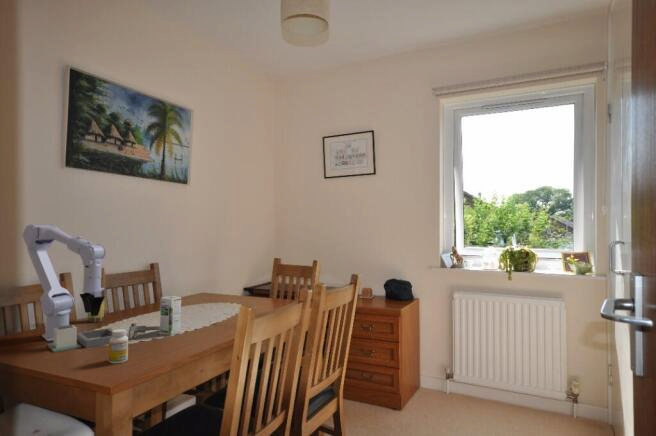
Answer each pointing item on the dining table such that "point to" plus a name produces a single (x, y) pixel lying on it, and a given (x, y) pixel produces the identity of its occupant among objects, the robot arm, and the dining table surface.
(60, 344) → the block
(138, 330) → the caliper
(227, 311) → the dining table surface
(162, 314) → the syrup box
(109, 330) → the grey square frame
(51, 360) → the dining table surface
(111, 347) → the supplement bottle
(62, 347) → the rubber mat
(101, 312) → the sauce bottle
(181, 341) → the dining table surface
